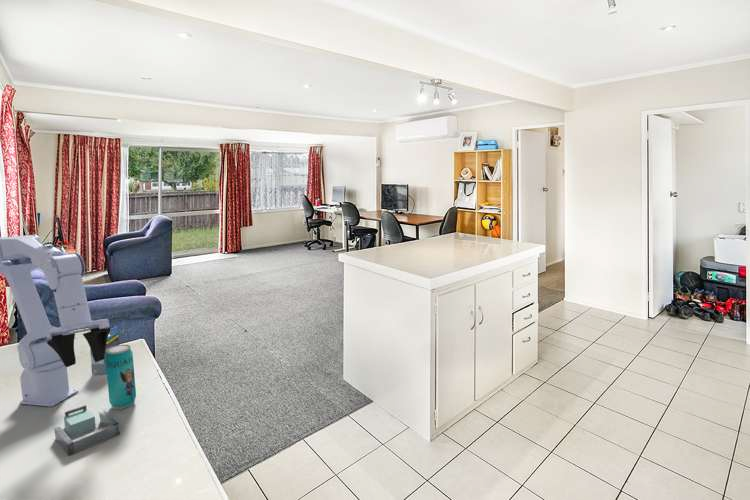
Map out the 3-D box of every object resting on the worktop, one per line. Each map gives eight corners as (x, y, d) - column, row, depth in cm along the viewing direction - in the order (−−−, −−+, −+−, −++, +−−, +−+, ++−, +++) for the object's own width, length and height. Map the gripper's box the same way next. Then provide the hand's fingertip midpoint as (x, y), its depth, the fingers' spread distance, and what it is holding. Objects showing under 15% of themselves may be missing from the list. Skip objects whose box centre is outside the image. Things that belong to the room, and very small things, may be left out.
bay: (55, 439, 88) (54, 428, 87) (105, 419, 95) (104, 410, 95) (68, 455, 82) (67, 444, 82) (120, 434, 90) (119, 423, 89)
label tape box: (107, 362, 127) (104, 325, 125) (121, 362, 127) (118, 324, 125) (91, 375, 118) (87, 335, 116) (106, 374, 118) (102, 334, 116)
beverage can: (124, 411, 99) (118, 353, 96) (104, 409, 100) (98, 351, 98) (141, 400, 104) (137, 345, 102) (122, 397, 105) (118, 343, 103)
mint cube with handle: (65, 428, 92) (63, 412, 91) (88, 420, 95) (86, 404, 95) (72, 437, 89) (70, 420, 88) (95, 428, 92) (94, 412, 91)
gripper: (28, 314, 90) (41, 373, 90) (86, 303, 88) (99, 363, 88) (56, 308, 97) (68, 363, 97) (110, 298, 95) (122, 354, 95)
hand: (85, 363), depth 93 cm, fingers open, 7 cm apart
